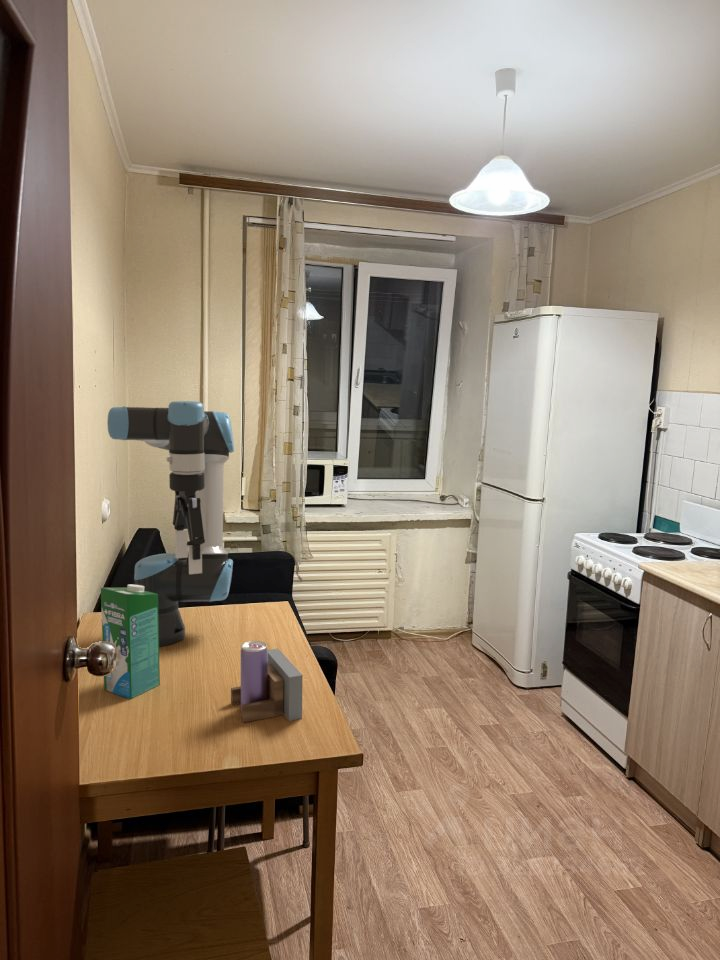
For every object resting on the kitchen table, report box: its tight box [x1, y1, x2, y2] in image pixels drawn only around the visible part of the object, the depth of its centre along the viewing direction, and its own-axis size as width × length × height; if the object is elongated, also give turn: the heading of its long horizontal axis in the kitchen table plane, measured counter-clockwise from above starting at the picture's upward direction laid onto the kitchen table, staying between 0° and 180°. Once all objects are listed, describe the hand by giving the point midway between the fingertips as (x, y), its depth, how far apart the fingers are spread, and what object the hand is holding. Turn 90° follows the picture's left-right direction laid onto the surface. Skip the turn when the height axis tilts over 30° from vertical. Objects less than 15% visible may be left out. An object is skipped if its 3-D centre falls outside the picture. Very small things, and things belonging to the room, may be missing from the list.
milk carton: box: [100, 584, 161, 700], centre depth 161 cm, size 9×9×25 cm
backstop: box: [268, 648, 303, 722], centre depth 156 cm, size 16×3×10 cm, turn 26°
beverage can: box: [240, 640, 269, 710], centre depth 152 cm, size 6×6×15 cm
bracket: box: [230, 663, 284, 723], centre depth 153 cm, size 10×9×8 cm
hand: (188, 565), depth 154 cm, fingers open, 13 cm apart
